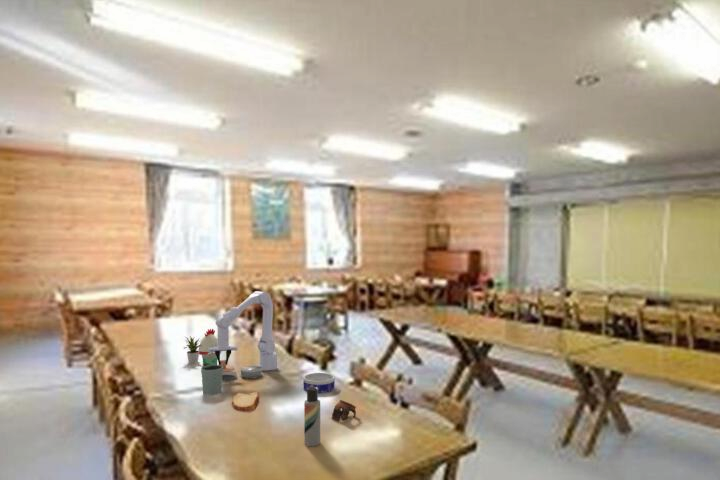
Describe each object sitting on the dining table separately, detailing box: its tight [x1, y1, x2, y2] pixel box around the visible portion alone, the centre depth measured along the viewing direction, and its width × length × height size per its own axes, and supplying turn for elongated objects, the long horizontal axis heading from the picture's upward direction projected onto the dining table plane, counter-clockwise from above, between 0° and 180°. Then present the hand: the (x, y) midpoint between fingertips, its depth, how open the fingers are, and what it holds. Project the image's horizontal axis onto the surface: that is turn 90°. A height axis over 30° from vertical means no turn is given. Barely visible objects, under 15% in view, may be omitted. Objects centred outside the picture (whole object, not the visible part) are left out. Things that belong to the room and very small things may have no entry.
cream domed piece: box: [197, 328, 222, 355], centre depth 320 cm, size 14×14×15 cm
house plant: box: [183, 335, 203, 364], centre depth 293 cm, size 14×14×16 cm
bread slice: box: [231, 391, 260, 413], centre depth 220 cm, size 18×18×4 cm
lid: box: [220, 359, 235, 373], centre depth 261 cm, size 12×12×5 cm
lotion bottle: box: [303, 387, 321, 447], centre depth 176 cm, size 6×6×20 cm
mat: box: [222, 370, 238, 381], centre depth 262 cm, size 16×14×1 cm
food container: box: [201, 352, 218, 367], centre depth 276 cm, size 12×6×10 cm, turn 168°
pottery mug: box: [331, 399, 357, 423], centre depth 200 cm, size 12×9×8 cm
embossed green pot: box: [200, 364, 223, 396], centre depth 235 cm, size 10×10×12 cm
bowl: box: [240, 365, 263, 379], centre depth 263 cm, size 11×11×4 cm
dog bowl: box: [302, 372, 336, 394], centre depth 241 cm, size 15×15×6 cm
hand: (223, 364), depth 261 cm, fingers closed on lid, 3 cm apart
